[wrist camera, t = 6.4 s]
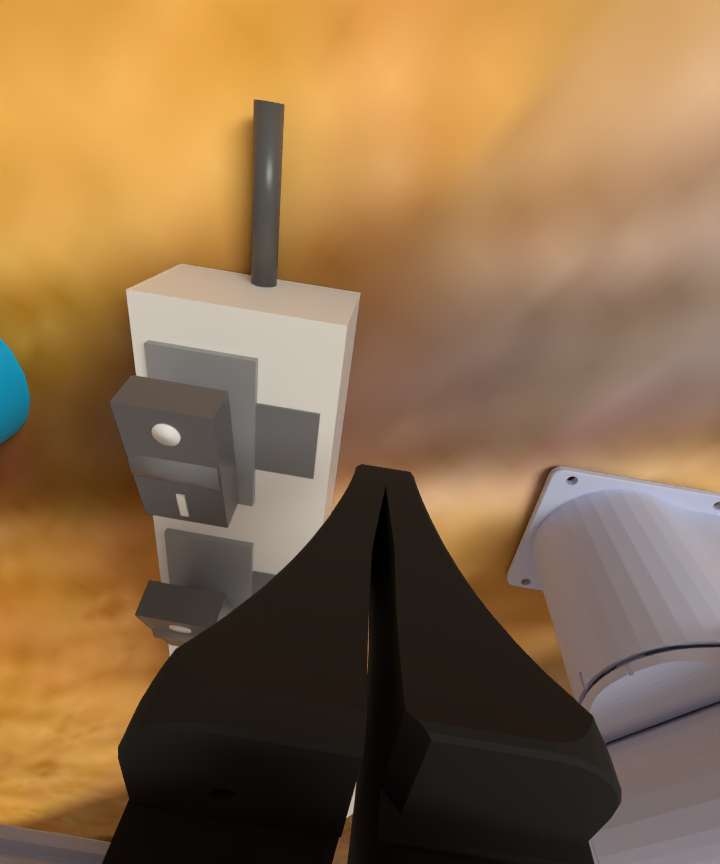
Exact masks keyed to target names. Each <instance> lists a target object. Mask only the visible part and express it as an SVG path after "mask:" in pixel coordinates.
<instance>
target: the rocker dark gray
mask: <svg viewBox="0 0 720 864" xmlns="http://www.w3.org/2000/svg"><path fill="white" fill-rule="evenodd" d="M233 610H234V607H233V606H231V604H230V602H229V600H228V598H227V596H226V594H224V593H219V592H213V591H207V590H202V589H196V588H190V587H185V586H179V585H173V584H168V583H162V582H156V581H151V580H149V582H148V585H147V587H146V589H145V592H144V594H143V597H142V599H141V602H140V604H139V607H138V609H137V611H136V614H135V616H137V617H138V618H139V619H140V620H141V621H142V622H144V623H145V624H146V625H147V626H148V627H149V628H151V629H152V630H153V635H154V637H157V638H162V639H163V640H165V641H166V642H167V643H168V644H169V645H173V646H178V647H179V646H181V645H182V644H184V643H185V642H187V641H189V640H190V639H192V638H193V637H195V636H196V635H198V634H199V633H201V632H202V631H204V630H205V629H207V628H209V627H210V626H212V625H213V624H215V623H216V622H218V621H219V620H221V619H222V618H223V617H225V616H226V615H228V614H229V613H230V612H231V611H233Z"/></svg>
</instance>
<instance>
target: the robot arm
mask: <svg viewBox="0 0 720 864" xmlns="http://www.w3.org/2000/svg"><path fill="white" fill-rule="evenodd" d="M573 476H574V477H575V478H574V479H573V480H569V481H568V480H567V479H568V478H569V477H573ZM717 502H719V503H718V504H716V505H714V504H715V503H717ZM523 579H526V580H523ZM507 581H508V583H509V584H510V585H513V586H517V587H523V588H529V589H534V590H540V591H543V593H544V596H545V600H546V603H547V606H548V610H549V613H550V617H551V620H552V624H553V627H554V631H555V634H556V637H557V641H558V644H559V648H560V651H561V655H562V658H563V662H564V665H565V668H566V672H567V675H568V679H569V682H570V686H571V689H572V693H573V696H574V698H573V697H572V696H571V695H569V694H568V693H567V692H566V691H565V690H564V689H563V688H562V687H561V686H559V685H558V684H557V683H556V682H555V681H554V680H553V679H552V678H551V677H549V676H548V675H547V674H546V673H545V672H544V671H543V670H542V669H541V668H540V667H539V666H538V665H537V664H536V663H535V662H534V661H533V660H532V659H531V658H530V657H529V656H528V655H527V654H526V653H525V652H524V651H523V649H522V648H521V647H520V646H519V645H518V644H517V643H516V642H515V641H514V640H513V639H512V637H511V636H510V635H509V634H508V633H507V632H506V630H505V629H504V628H503V627H502V626H501V625H500V624H499V622H498V621H497V620H496V619H495V618H494V617H493V615H492V614H491V613H490V612H489V611H488V609H487V608H486V607H485V605H484V604H483V603H482V601H481V600H480V599H479V598H478V596H477V595H476V594H475V592H474V591H473V589H472V588H471V586H470V585H469V584H468V582H467V581H466V579H465V578H464V576H463V575H462V573H461V572H460V570H459V569H458V567H457V566H456V564H455V562H454V561H453V559H452V557H451V556H450V554H449V552H448V551H447V549H446V547H445V545H444V544H443V542H442V540H441V538H440V536H439V534H438V532H437V530H436V528H435V526H434V524H433V522H432V520H431V518H430V516H429V514H428V512H427V510H426V508H425V505H424V503H423V501H422V498H421V496H420V493H419V491H418V488H417V485H416V483H415V480H414V476H413V475H412V474H411V472H407V471H401V470H394V469H388V468H382V467H376V466H370V465H363V464H361V465H359V466H357V467H356V470H355V473H354V476H353V478H352V480H351V482H350V484H349V486H348V488H347V490H346V491H345V493H344V495H343V496H342V498H341V499H340V501H339V502H338V504H337V505H336V507H335V509H334V510H333V512H332V513H331V514H330V516H329V517H328V518H327V520H326V521H325V522H324V524H323V525H322V526H321V527H320V529H319V530H318V531H317V532H316V534H315V535H314V536H313V537H312V539H311V540H310V541H309V542H308V543H307V544H306V545H305V547H304V548H303V549H302V550H301V551H300V552H299V553H298V554H297V555H296V556H295V557H294V558H293V559H292V560H291V561H290V562H289V563H288V564H287V565H286V566H285V567H284V568H283V569H282V570H281V571H280V572H279V573H278V574H277V575H275V576H274V577H273V578H272V579H271V580H270V581H269V582H268V583H267V584H266V585H264V586H263V587H262V588H261V589H260V590H259V591H257V592H256V593H255V594H253V595H252V596H251V597H250V598H248V599H247V600H246V601H244V602H243V603H242V604H241V605H239V606H238V607H237V608H235V609H234V610H233V611H231V612H230V613H229V614H228V615H226V616H225V617H223V618H222V619H221V620H219V621H218V622H216V623H215V624H213V625H212V626H210V627H209V628H207V629H205V630H204V631H202V632H201V633H199V634H198V635H196V636H195V637H193V638H192V639H190V640H189V641H187V642H185V643H184V644H182V645H181V646H179V647H178V648H176V649H175V650H174V652H173V653H172V654H171V656H170V657H169V658H168V660H167V661H166V662H165V664H164V665H163V667H162V668H161V669H160V671H159V672H158V674H157V675H156V677H155V678H154V680H153V681H152V683H151V684H150V686H149V688H148V689H147V691H146V693H145V694H144V696H143V697H142V699H141V701H140V703H139V705H138V707H137V709H136V711H135V713H134V715H133V717H132V719H131V721H130V723H129V725H128V727H127V730H126V732H125V734H124V736H123V738H122V740H121V742H120V744H119V746H118V760H119V763H120V767H121V771H122V774H123V778H124V781H125V785H126V789H127V792H128V796H129V801H128V803H127V806H126V808H125V811H124V813H123V815H122V818H121V820H120V822H119V825H118V827H117V829H116V832H115V834H114V836H113V839H112V841H111V842H107V841H101V840H95V839H89V838H83V837H77V836H71V835H65V834H59V833H53V832H47V831H41V830H35V829H29V828H23V827H17V826H11V825H5V824H0V864H332V861H333V857H334V854H335V850H336V846H337V843H338V839H339V837H341V835H342V832H343V828H344V824H345V821H346V817H347V814H348V810H349V807H350V803H351V799H352V796H353V792H354V789H355V785H356V790H355V800H354V809H353V818H352V827H351V836H350V845H349V853H348V862H347V864H720V493H717V492H711V491H706V490H700V489H694V488H688V487H682V486H676V485H670V484H664V483H658V482H652V481H646V480H640V479H634V478H628V477H622V476H617V475H611V474H605V473H599V472H593V471H587V470H581V469H575V468H569V467H556V468H554V469H552V470H551V472H550V473H549V475H548V478H547V480H546V482H545V485H544V487H543V490H542V492H541V494H540V497H539V499H538V501H537V504H536V506H535V509H534V511H533V513H532V516H531V518H530V520H529V523H528V525H527V528H526V530H525V532H524V535H523V537H522V539H521V542H520V544H519V547H518V549H517V551H516V554H515V556H514V559H513V561H512V563H511V566H510V568H509V570H508V573H507ZM368 617H369V655H368V673H367V649H368Z"/></svg>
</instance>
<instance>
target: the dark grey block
mask: <svg viewBox="0 0 720 864" xmlns="http://www.w3.org/2000/svg"><path fill="white" fill-rule="evenodd" d="M110 405H111V408H112V411H113V414H114V417H115V420H116V423H117V426H118V430H119V433H120V436H121V439H122V442H123V445H124V448H125V451H126V454H127V457H128V460H129V468H130V471H131V473H132V474H133V476H134V479H135V482H136V485H137V488H138V491H139V494H140V497H141V500H142V503H143V506H144V509H145V513H146V514H149V515H155V516H161V517H166V518H172V519H178V520H184V521H189V522H195V523H201V524H207V525H212V526H218V527H224V528H228V527H229V524H230V522H231V519H232V517H233V514H234V512H235V509H236V507H237V504H238V502H239V492H238V482H237V472H236V462H235V452H234V442H233V433H232V423H231V413H230V403H229V393H228V391H225V390H219V389H213V388H207V387H201V386H195V385H189V384H183V383H177V382H171V381H165V380H159V379H153V378H147V377H141V376H135V375H131V376H130V377H129V379H128V380H127V381H126V382H125V383H124V385H123V386H122V387H121V388H120V390H119V391H118V392H117V393H116V394H115V396H114V397H113V398H112V399H111V400H110Z"/></svg>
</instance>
